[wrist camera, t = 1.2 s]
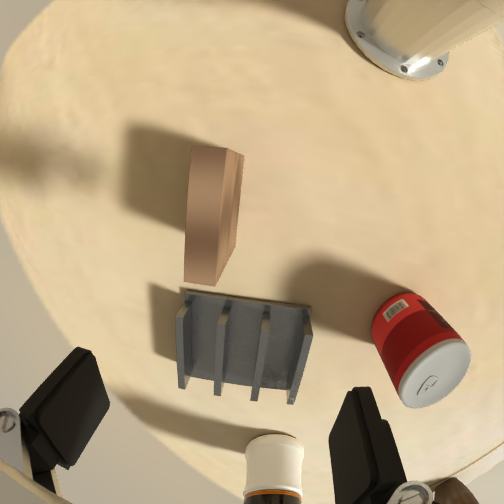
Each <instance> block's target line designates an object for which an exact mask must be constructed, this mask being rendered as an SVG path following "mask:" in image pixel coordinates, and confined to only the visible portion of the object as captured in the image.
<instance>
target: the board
mask: <svg viewBox="0 0 504 504" xmlns="http://www.w3.org/2000/svg"><path fill="white" fill-rule="evenodd" d="M243 164H244V156H243V155H241V154H239V153H237V152H234V151H232V150H230V149H227V148H216V147H198V146H192V150H191V160H190V171H189V183H188V197H187V212H186V231H185V255H184V282H188V283H195V284H202V285H208V286H216V284H217V282H218V280H219V278H220V276H221V274H222V272H223V270H224V268H225V266H226V264H227V262H228V260H229V258H230V256H231V254H232V252H233V250H234V248H235V244H236V233H237V223H238V212H239V202H240V192H241V183H242V173H243Z"/></svg>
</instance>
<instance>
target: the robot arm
mask: <svg viewBox="0 0 504 504" xmlns="http://www.w3.org/2000/svg"><path fill="white" fill-rule="evenodd" d="M502 22H504V0H349V2H348V4H347V6H346V9H345V23H346V27H347V30H348V32H349V34H350V36H351V38H352V39H353V41H354V42H355V44H356V46H357V47H358V48H359V49H360V50H361V51H362V52H363V54H364V55H365V56H367V57H368V58H369V59H370V60H371V61H372V62H373V63H375V64H376V65H378V66H379V67H380V68H382V69H383V70H385V71H387V72H389V73H391V74H393V75H395V76H398V77H401V78H403V79H408V80H413V81H423V80H428V79H431V78H433V77H435V76H437V75H438V74H440V73H441V72H442V71H443V70H444V69H445V67H446V65H447V63H448V59H449V51H450V50H452V49H454V48H456V47H457V46H459V45H461V44H463V43H464V42H466V41H468V40H470V39H472V38H474V37H475V36H477V35H479V34H481V33H483V32H485V31H487V30H489V29H491V28H492V27H494V26H496V25H498V24H500V23H502ZM358 36H359V37H358ZM109 406H110V401H109V398H108V396H107V393H106V390H105V387H104V384H103V381H102V378H101V375H100V372H99V368H98V365H97V362H96V358H95V356H94V355H93V354H92V352H91V351H90V350H87V349H84V348H81V347H76V348H75V349H74V350H73V351H72V352H71V353H70V354H69V355H68V356H67V357H66V358H65V359H64V360H63V362H62V363H61V364H60V365H59V366H58V367H57V368H56V369H55V370H54V371H53V372H52V373H51V374H50V375H49V377H48V378H47V379H46V380H45V381H44V382H43V383H42V384H41V385H40V386H39V387H38V389H37V390H36V391H35V392H34V393H33V394H32V395H31V397H30V398H29V399H28V400H27V401H26V402H25V403H24V404H23V406H22V407H21V408H20V409H19V411H20V412H21V413H20V414H19V415H18V413H17V412H16V411H15V410H13V409H11V408H2V409H0V504H72V503H70V502H68V501H67V500H65V499H63V498H62V495H61V492H60V488H59V484H58V480H57V476H56V472H55V466H56V464H58V465H60V466H62V467H64V468H65V469H67V470H69V468H70V466H73V465H75V463H76V462H77V460H78V458H79V457H80V455H81V453H82V452H83V450H84V448H85V447H86V445H87V443H88V442H89V440H90V438H91V437H92V435H93V433H94V432H95V430H96V429H97V427H98V425H99V424H100V422H101V420H102V419H103V417H104V416H105V414H106V412H107V411H108V409H109ZM329 449H330V457H331V466H332V475H333V484H334V494H335V504H440V503H437V502H435V501H433V493H432V491H431V489H430V488H429V487H428V486H427V485H426V484H424V483H423V482H419V481H409V482H407V479H406V476H405V472H404V469H403V466H402V462H401V459H400V456H399V453H398V449H397V446H396V443H395V440H394V437H393V434H392V431H391V428H390V425H389V423H388V421H387V420H384V419H381V416H380V413H379V410H378V407H377V404H376V401H375V398H374V395H373V392H372V390H371V388H370V387H354V388H353V389H352V391H348V392H347V394H346V397H345V399H344V402H343V404H342V407H341V409H340V412H339V414H338V416H337V419H336V421H335V423H334V426H333V428H332V430H331V432H330V435H329Z"/></svg>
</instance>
